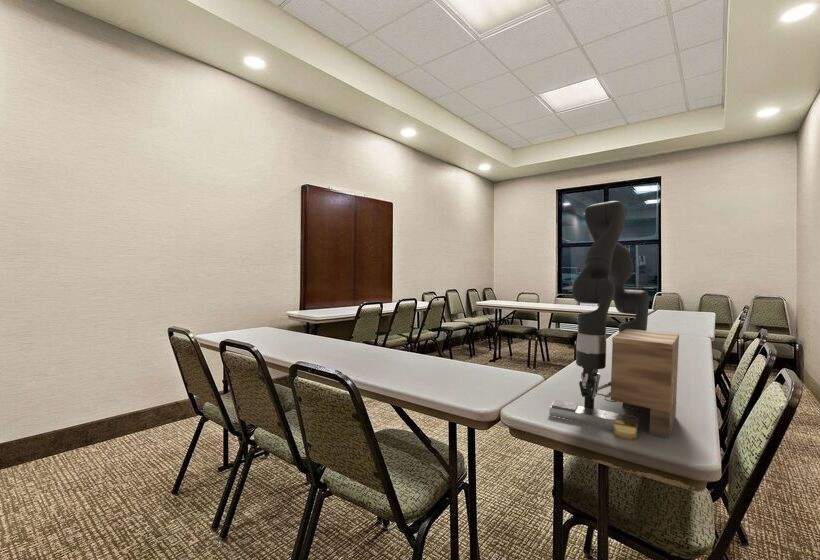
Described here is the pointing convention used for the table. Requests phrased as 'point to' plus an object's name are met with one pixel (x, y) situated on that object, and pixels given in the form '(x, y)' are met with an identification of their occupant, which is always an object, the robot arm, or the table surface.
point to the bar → (588, 414)
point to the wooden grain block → (646, 375)
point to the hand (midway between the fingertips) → (589, 410)
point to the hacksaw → (607, 394)
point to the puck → (625, 430)
